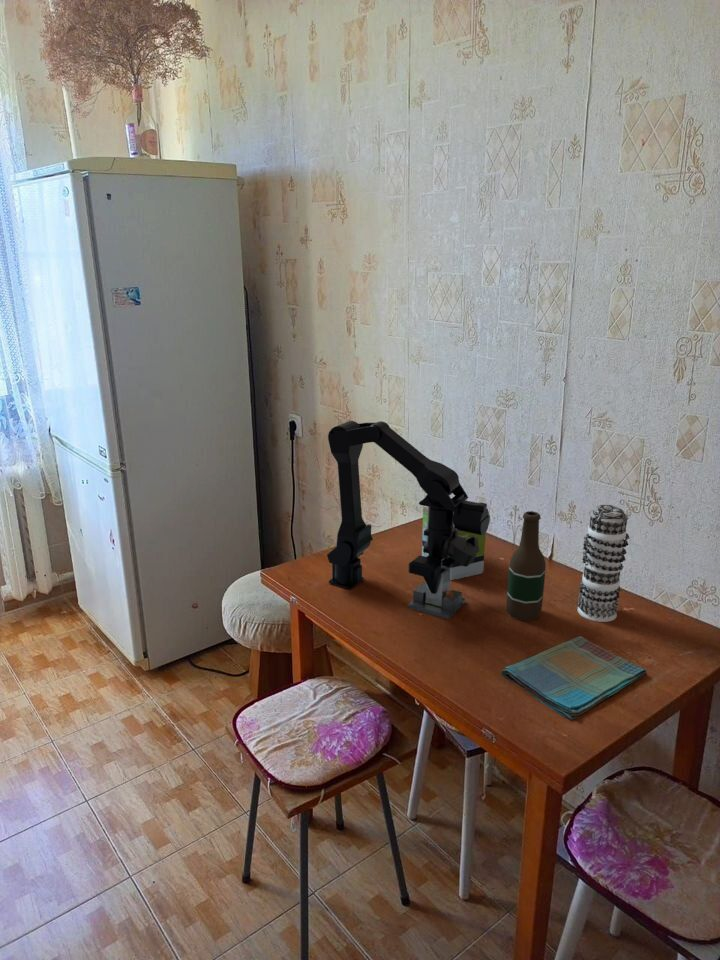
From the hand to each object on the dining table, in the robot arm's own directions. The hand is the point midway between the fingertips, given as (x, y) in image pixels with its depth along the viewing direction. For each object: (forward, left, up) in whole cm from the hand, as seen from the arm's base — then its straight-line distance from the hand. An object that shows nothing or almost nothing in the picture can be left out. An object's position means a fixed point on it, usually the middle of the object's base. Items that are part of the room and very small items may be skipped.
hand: (437, 589), depth 163 cm
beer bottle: (+18, +7, -4) cm, 20 cm away
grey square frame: (0, 0, -4) cm, 4 cm away
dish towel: (+35, -11, -5) cm, 37 cm away
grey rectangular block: (0, 0, -4) cm, 4 cm away
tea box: (-6, +21, -4) cm, 22 cm away
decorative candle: (+32, +16, -4) cm, 36 cm away
